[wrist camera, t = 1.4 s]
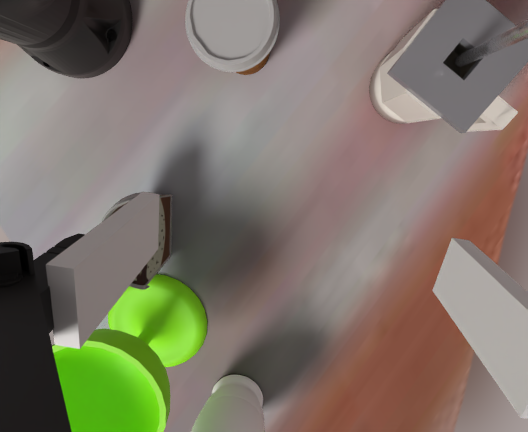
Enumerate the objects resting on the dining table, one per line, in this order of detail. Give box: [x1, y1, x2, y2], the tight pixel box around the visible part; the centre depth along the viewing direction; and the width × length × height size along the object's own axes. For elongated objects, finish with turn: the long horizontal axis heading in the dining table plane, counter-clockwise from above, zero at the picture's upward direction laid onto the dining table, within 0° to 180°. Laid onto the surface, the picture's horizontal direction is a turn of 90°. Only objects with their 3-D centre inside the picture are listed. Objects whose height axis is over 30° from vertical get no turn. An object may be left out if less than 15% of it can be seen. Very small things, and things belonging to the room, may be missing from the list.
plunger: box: [455, 20, 528, 67], centre depth 21 cm, size 4×4×17 cm
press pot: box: [369, 0, 528, 133], centre depth 37 cm, size 13×9×16 cm
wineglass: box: [52, 274, 207, 432], centre depth 46 cm, size 16×16×18 cm
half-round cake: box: [101, 192, 172, 290], centre depth 46 cm, size 12×6×10 cm, turn 176°
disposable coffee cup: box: [185, 0, 280, 75], centre depth 39 cm, size 10×10×12 cm
